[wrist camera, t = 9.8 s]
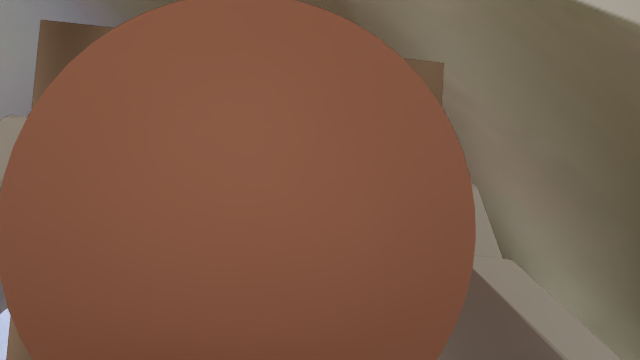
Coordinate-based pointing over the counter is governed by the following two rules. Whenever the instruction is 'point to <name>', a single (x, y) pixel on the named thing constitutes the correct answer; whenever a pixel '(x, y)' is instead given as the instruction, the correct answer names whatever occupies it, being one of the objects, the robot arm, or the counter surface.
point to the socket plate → (71, 39)
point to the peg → (236, 195)
